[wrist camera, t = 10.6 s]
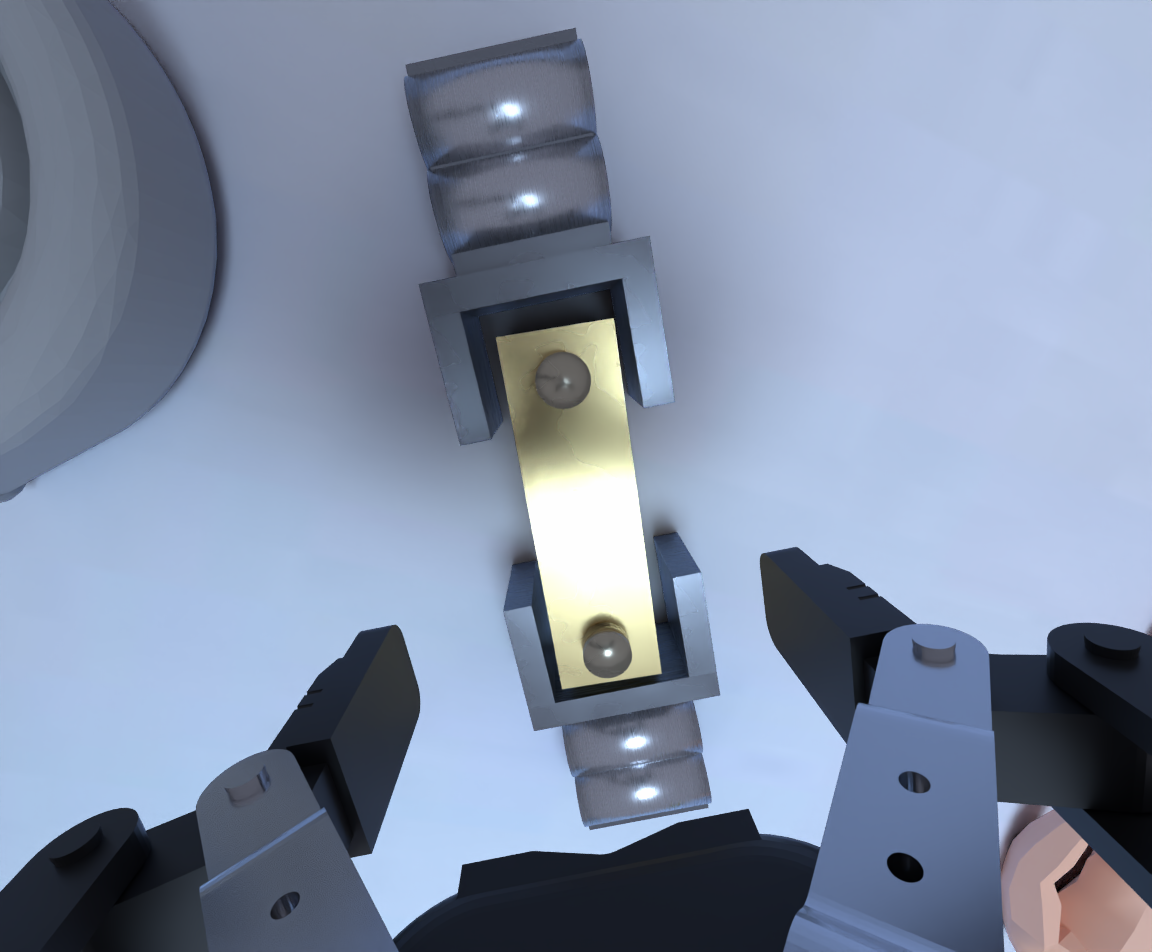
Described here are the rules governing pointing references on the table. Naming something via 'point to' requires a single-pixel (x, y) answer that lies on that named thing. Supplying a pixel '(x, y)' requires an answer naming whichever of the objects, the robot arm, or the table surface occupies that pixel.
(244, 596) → the table surface
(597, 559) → the brass block with pins
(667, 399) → the chain ends
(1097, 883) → the male figurine
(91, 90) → the turbocharger housing
